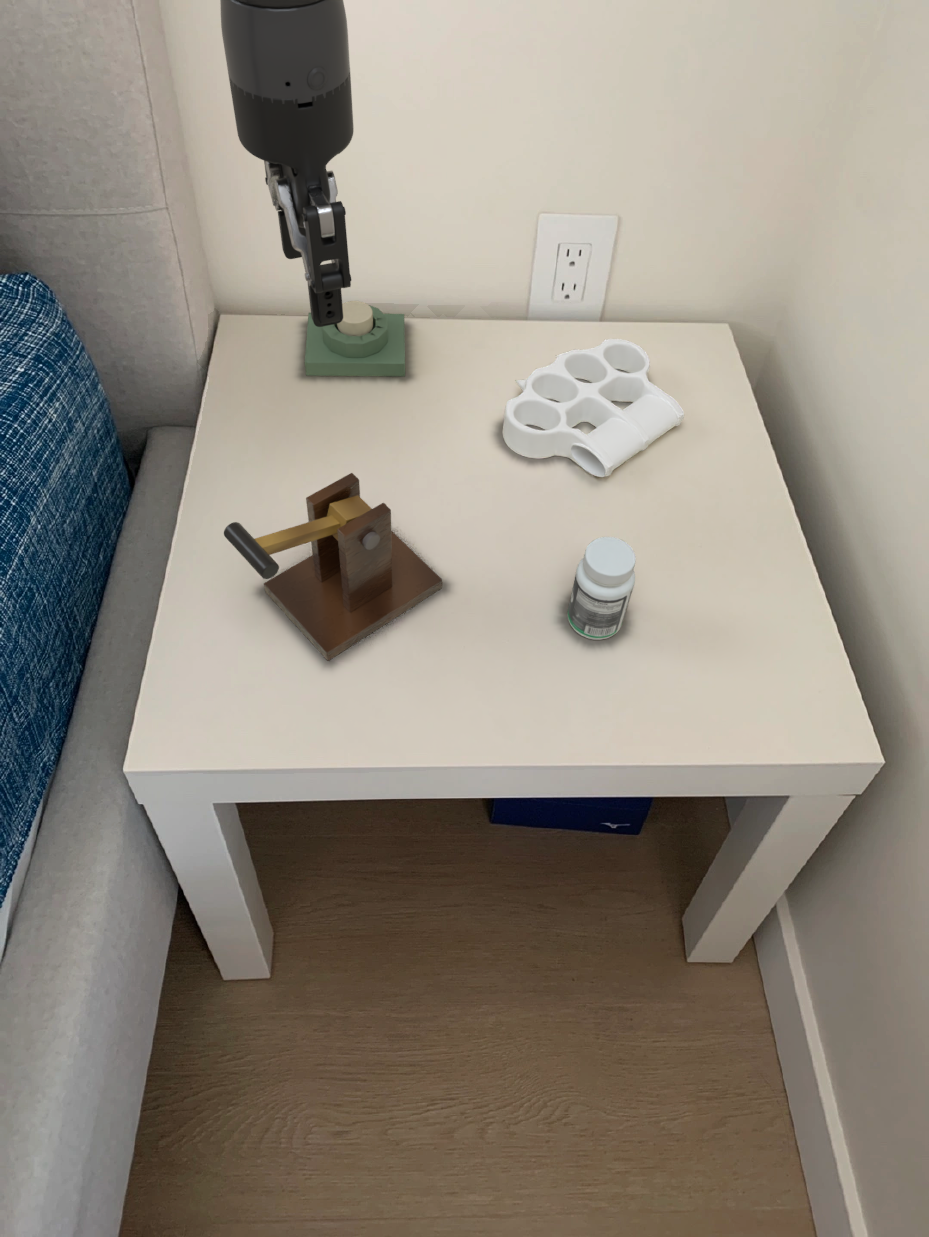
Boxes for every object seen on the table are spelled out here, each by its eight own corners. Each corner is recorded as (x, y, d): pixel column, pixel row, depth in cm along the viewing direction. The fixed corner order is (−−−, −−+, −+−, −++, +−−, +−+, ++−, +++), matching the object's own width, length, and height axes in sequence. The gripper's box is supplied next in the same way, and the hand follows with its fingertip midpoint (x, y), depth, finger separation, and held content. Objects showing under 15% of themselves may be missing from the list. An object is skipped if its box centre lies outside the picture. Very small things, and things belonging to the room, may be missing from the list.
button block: (306, 375, 99) (303, 347, 96) (309, 325, 103) (307, 297, 101) (405, 376, 99) (404, 349, 97) (404, 327, 104) (404, 299, 101)
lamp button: (336, 337, 98) (335, 322, 96) (337, 314, 100) (336, 300, 98) (372, 337, 98) (372, 323, 97) (373, 315, 100) (372, 300, 99)
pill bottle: (590, 587, 85) (606, 522, 78) (633, 619, 83) (654, 556, 76) (554, 618, 82) (568, 554, 76) (598, 651, 81) (615, 589, 74)
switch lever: (259, 587, 69) (264, 561, 68) (221, 544, 71) (225, 519, 70) (379, 545, 76) (386, 522, 75) (341, 508, 79) (347, 484, 77)
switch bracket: (327, 661, 79) (318, 578, 70) (264, 592, 82) (248, 505, 74) (442, 588, 84) (446, 502, 75) (377, 526, 87) (375, 437, 79)
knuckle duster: (580, 502, 90) (470, 420, 96) (700, 415, 98) (592, 344, 104) (585, 477, 88) (472, 393, 93) (708, 389, 95) (597, 317, 101)
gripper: (205, 20, 63) (242, 243, 76) (255, 130, 56) (287, 357, 69) (317, 6, 65) (335, 227, 78) (381, 111, 57) (388, 336, 71)
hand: (312, 288), depth 74 cm, fingers open, 8 cm apart
